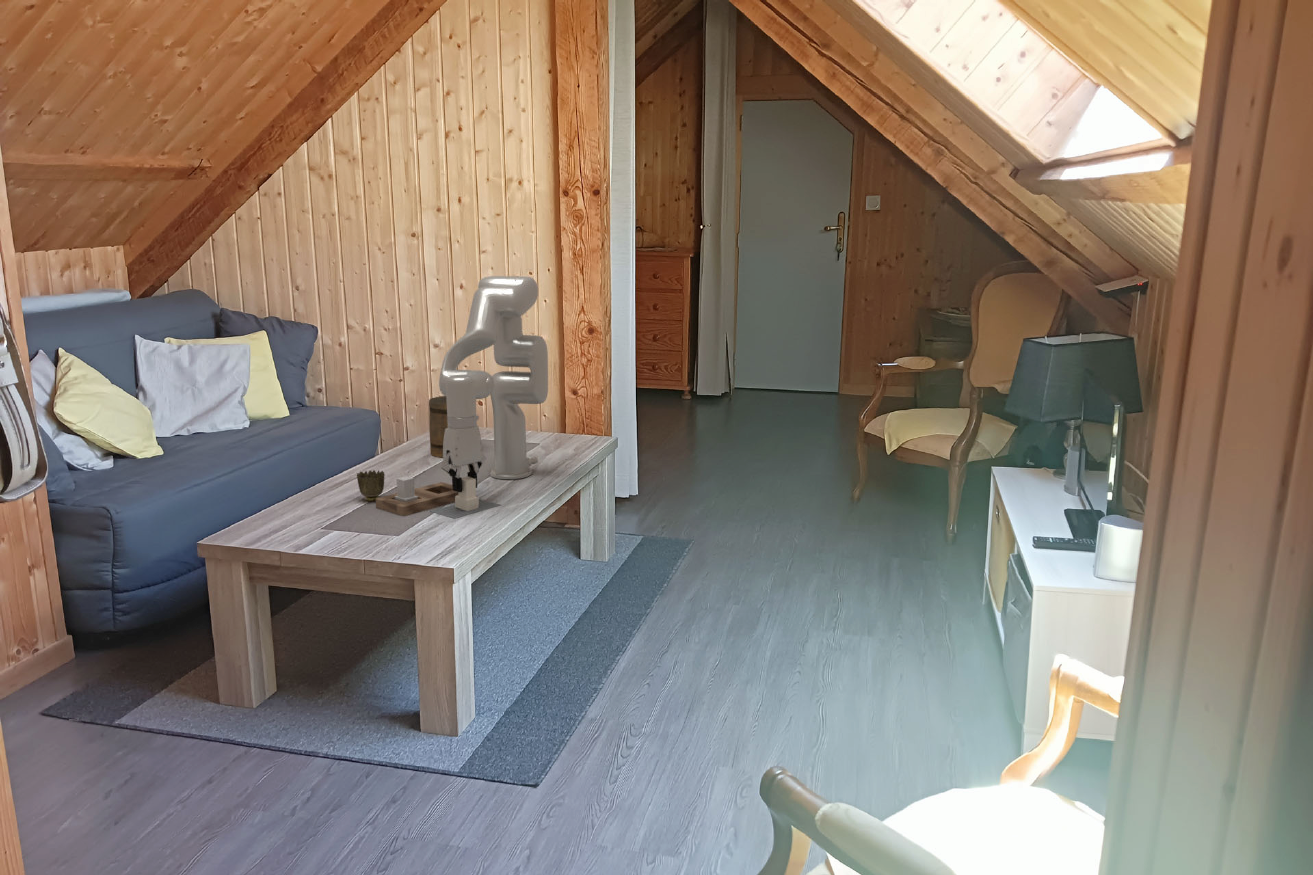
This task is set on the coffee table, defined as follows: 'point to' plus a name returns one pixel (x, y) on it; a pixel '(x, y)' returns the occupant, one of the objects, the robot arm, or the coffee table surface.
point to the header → (419, 499)
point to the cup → (371, 484)
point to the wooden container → (437, 424)
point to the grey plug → (405, 489)
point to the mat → (457, 512)
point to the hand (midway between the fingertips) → (465, 488)
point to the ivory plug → (467, 495)
